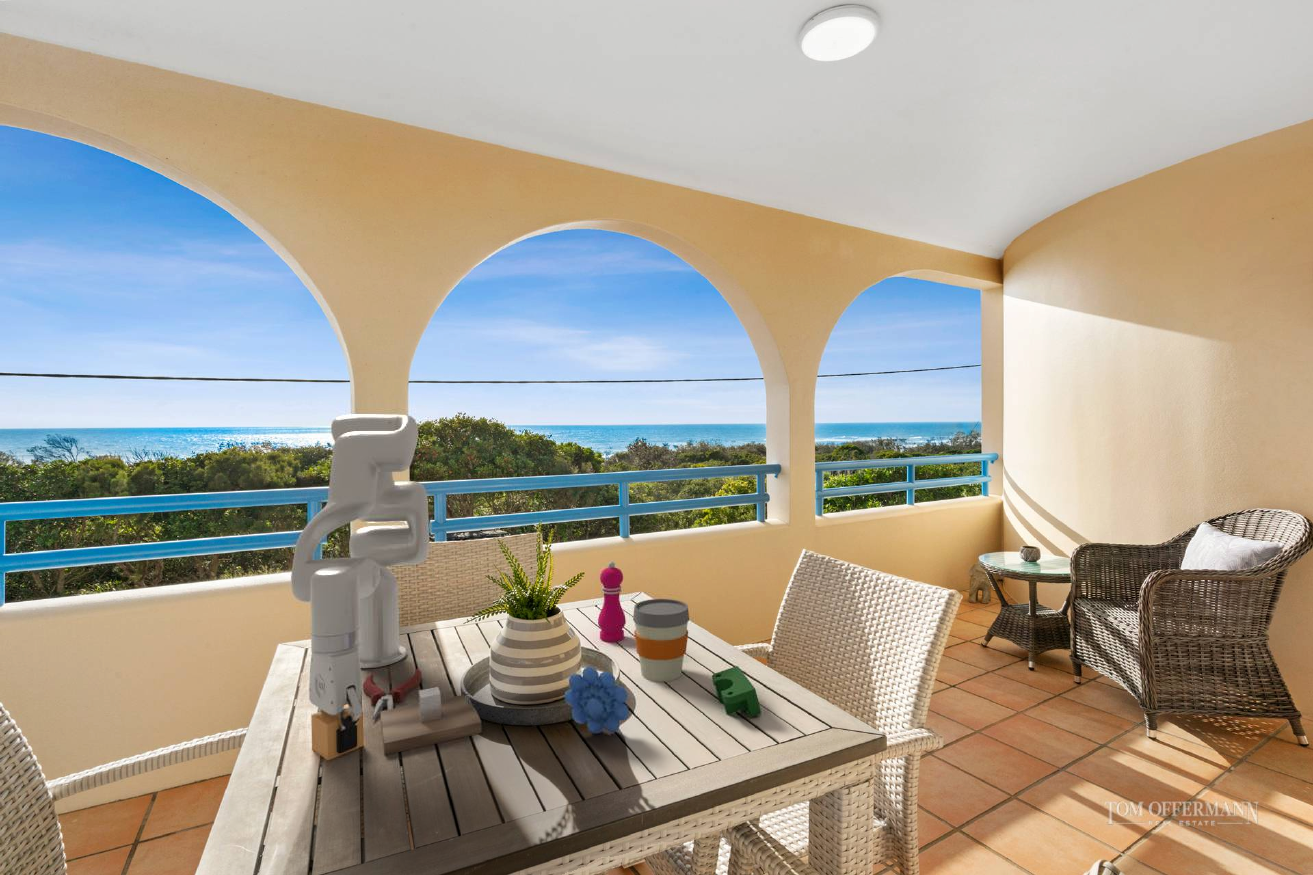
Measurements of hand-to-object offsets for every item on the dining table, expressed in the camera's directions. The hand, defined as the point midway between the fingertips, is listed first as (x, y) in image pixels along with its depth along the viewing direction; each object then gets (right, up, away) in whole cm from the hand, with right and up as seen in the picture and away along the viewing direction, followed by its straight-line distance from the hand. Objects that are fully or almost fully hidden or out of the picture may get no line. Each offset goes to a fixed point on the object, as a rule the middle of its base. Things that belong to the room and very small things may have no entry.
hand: (337, 742), depth 106 cm
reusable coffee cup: (+56, 0, +31) cm, 64 cm away
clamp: (+70, -1, +14) cm, 72 cm away
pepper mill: (+43, 0, +54) cm, 69 cm away
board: (+13, -1, +7) cm, 15 cm away
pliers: (-1, -1, +20) cm, 20 cm away
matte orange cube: (0, -1, 0) cm, 1 cm away
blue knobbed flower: (+44, -1, +3) cm, 44 cm away
